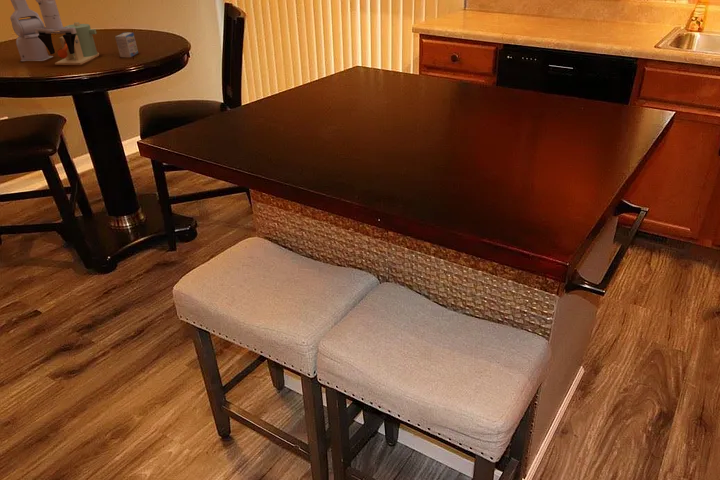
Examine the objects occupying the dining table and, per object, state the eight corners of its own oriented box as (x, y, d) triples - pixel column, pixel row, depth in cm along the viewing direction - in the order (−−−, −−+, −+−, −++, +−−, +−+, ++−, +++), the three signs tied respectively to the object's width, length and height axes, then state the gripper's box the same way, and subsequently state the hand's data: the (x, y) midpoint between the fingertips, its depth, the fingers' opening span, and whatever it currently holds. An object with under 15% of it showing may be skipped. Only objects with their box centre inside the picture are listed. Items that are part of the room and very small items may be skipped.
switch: (67, 60, 219) (63, 52, 216) (58, 60, 219) (54, 52, 216) (77, 43, 226) (73, 35, 223) (68, 43, 226) (64, 35, 223)
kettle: (68, 60, 231) (57, 24, 223) (81, 54, 240) (71, 19, 233) (96, 60, 231) (87, 25, 223) (109, 54, 240) (100, 20, 233)
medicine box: (131, 58, 233) (125, 36, 229) (120, 58, 233) (114, 36, 229) (138, 54, 240) (133, 32, 235) (128, 54, 240) (123, 32, 235)
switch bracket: (81, 66, 223) (73, 39, 217) (55, 65, 223) (47, 39, 217) (95, 58, 233) (88, 33, 227) (71, 58, 233) (63, 33, 228)
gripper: (25, 17, 208) (38, 55, 215) (64, 17, 208) (76, 55, 215) (36, 13, 214) (48, 51, 221) (74, 14, 214) (85, 51, 221)
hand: (62, 53), depth 219 cm, fingers open, 7 cm apart
